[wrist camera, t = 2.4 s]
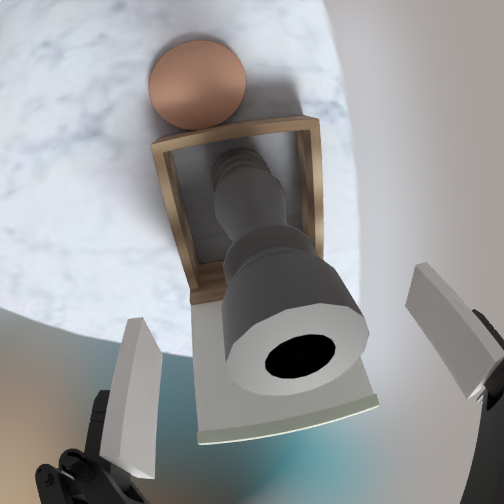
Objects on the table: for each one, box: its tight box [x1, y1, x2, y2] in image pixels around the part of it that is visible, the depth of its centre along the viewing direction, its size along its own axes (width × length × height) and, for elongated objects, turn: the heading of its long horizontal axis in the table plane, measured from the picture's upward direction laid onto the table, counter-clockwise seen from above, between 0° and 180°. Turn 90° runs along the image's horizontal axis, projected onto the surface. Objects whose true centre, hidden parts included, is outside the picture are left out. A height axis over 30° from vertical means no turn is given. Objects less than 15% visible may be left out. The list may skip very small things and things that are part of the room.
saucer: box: [149, 40, 246, 130], centre depth 25 cm, size 10×10×1 cm
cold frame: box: [151, 115, 324, 305], centre depth 30 cm, size 25×16×12 cm, turn 7°
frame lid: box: [191, 300, 379, 445], centre depth 26 cm, size 4×16×15 cm, turn 97°
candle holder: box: [212, 148, 369, 395], centre depth 21 cm, size 6×6×25 cm
